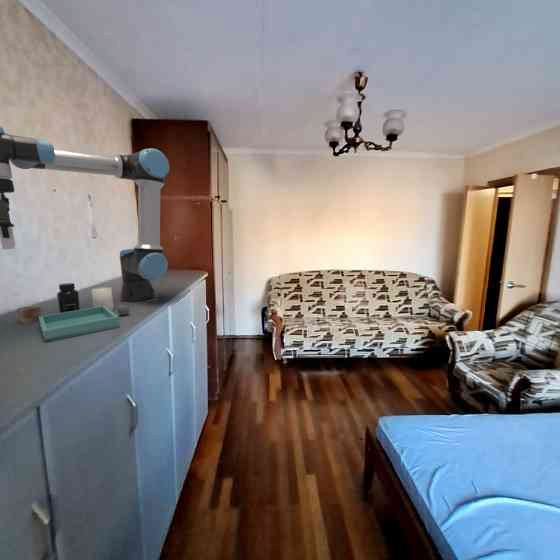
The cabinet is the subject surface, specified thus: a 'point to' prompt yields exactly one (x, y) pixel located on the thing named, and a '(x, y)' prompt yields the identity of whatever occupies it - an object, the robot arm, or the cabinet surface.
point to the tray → (77, 323)
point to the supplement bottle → (68, 298)
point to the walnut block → (29, 314)
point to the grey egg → (123, 309)
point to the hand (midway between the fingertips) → (9, 248)
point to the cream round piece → (103, 297)
